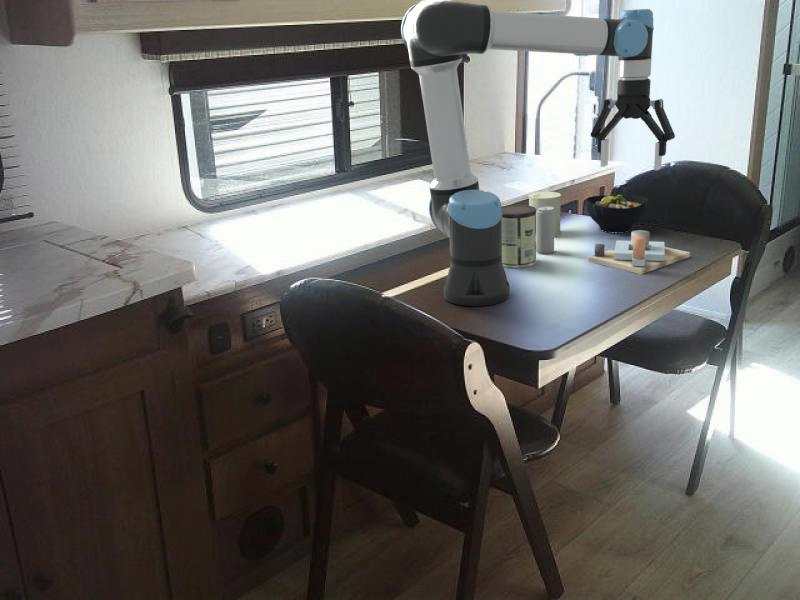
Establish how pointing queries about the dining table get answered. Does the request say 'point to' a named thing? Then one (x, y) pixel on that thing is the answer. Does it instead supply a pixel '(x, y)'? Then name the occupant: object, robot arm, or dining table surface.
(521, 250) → the coffee can
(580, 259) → the dining table surface
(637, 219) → the bowl
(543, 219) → the beverage can
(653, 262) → the post base
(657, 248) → the flange plate
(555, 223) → the can
